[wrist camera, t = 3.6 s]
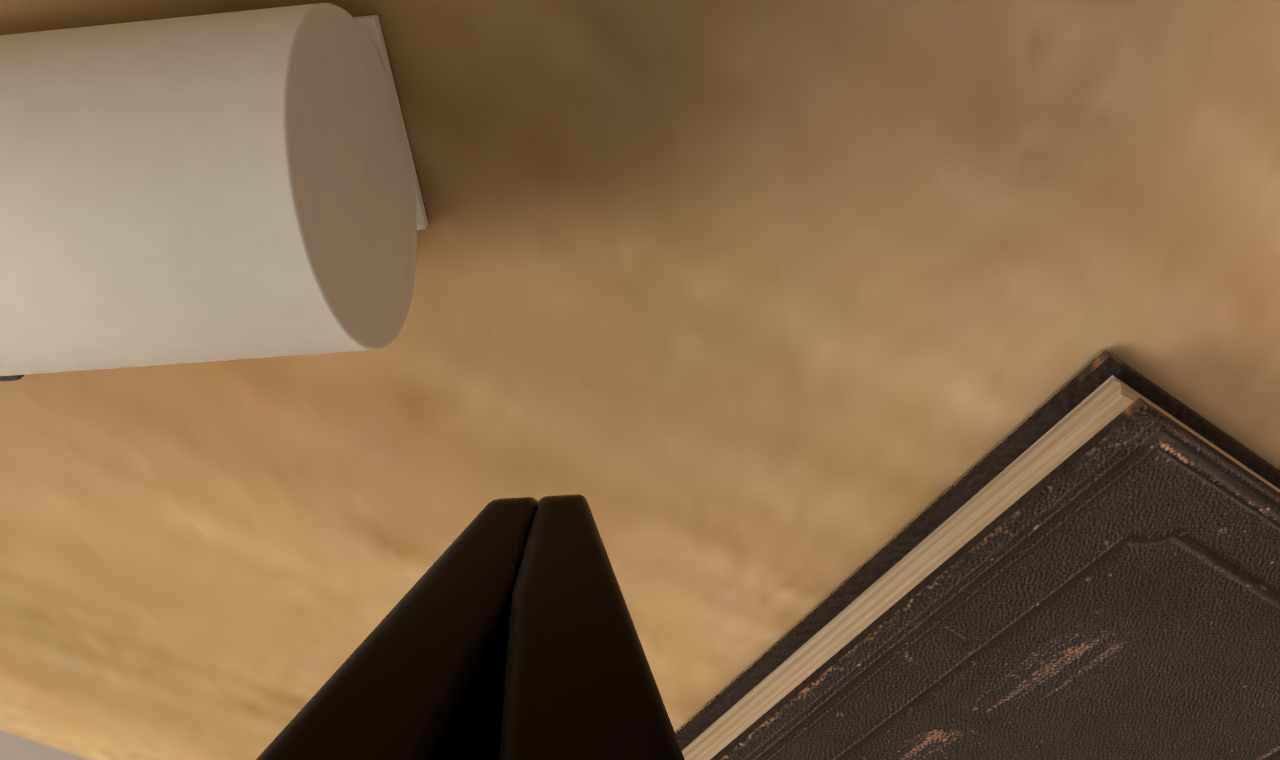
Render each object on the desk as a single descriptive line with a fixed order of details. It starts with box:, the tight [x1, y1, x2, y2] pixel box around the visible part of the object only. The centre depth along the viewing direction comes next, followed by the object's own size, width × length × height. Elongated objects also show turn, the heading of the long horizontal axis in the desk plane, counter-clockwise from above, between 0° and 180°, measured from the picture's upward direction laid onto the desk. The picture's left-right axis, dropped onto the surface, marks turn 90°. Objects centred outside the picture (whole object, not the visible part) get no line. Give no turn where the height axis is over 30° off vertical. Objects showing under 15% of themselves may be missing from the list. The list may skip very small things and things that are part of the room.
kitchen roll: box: [0, 3, 428, 376], centre depth 17 cm, size 10×6×6 cm, turn 96°
